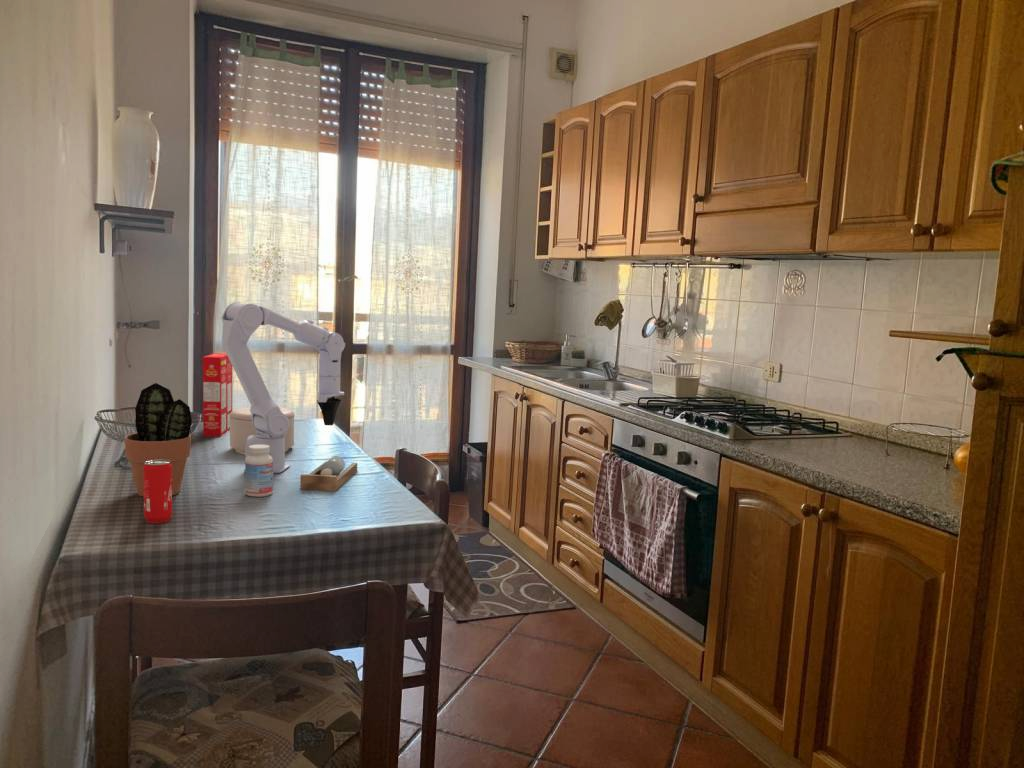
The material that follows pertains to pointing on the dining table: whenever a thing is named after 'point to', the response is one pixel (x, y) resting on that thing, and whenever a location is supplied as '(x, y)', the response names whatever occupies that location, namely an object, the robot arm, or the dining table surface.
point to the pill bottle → (259, 471)
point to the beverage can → (157, 490)
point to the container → (244, 428)
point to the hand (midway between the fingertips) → (328, 424)
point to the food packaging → (217, 394)
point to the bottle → (333, 466)
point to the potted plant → (159, 434)
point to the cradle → (326, 479)
